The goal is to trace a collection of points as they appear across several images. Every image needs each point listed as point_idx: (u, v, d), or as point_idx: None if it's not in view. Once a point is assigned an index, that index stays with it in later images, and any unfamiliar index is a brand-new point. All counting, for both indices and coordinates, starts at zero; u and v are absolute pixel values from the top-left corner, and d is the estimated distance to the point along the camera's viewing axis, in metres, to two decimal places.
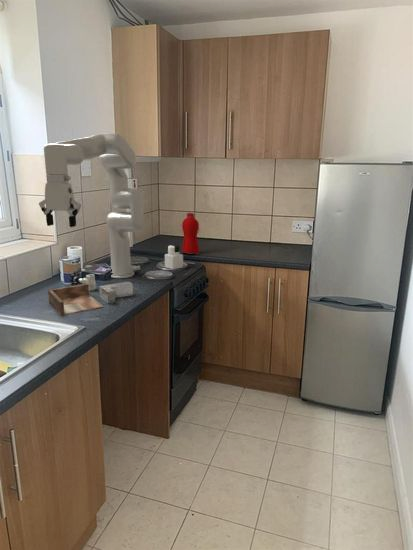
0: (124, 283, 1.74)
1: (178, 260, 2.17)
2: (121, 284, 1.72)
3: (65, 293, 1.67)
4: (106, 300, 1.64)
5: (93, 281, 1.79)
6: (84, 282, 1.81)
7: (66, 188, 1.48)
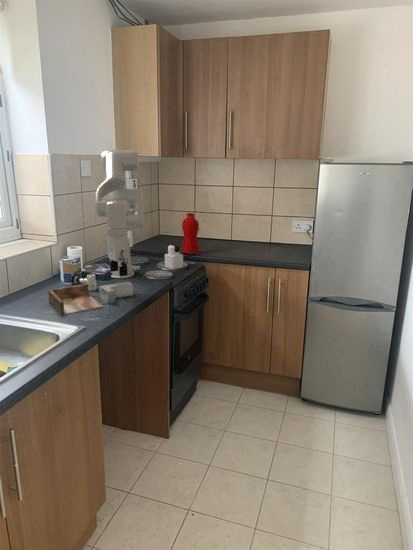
0: (124, 283, 1.74)
1: (178, 260, 2.17)
2: (121, 284, 1.72)
3: (65, 293, 1.67)
4: (106, 300, 1.64)
5: (94, 281, 1.79)
6: (85, 282, 1.81)
7: None
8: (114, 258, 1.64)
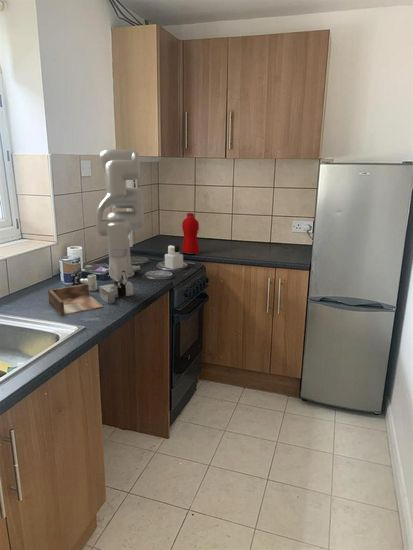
0: None
1: (178, 260, 2.17)
2: None
3: (65, 293, 1.67)
4: (106, 300, 1.64)
5: (95, 281, 1.79)
6: (85, 282, 1.80)
7: None
8: (115, 278, 1.67)
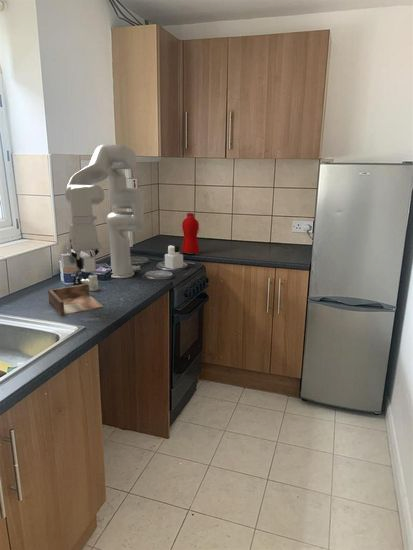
0: (89, 257, 1.55)
1: (178, 260, 2.17)
2: (86, 256, 1.56)
3: (65, 293, 1.67)
4: None
5: (96, 282, 1.79)
6: (86, 283, 1.80)
7: None
8: None
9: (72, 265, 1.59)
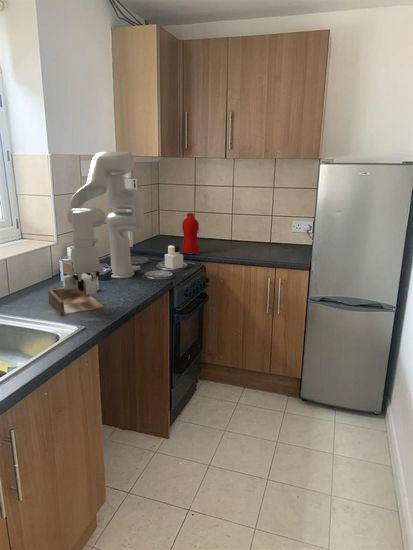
0: (90, 279, 1.57)
1: (178, 260, 2.17)
2: (87, 278, 1.58)
3: (65, 293, 1.67)
4: None
5: (96, 282, 1.78)
6: None
7: None
8: None
9: (73, 286, 1.61)
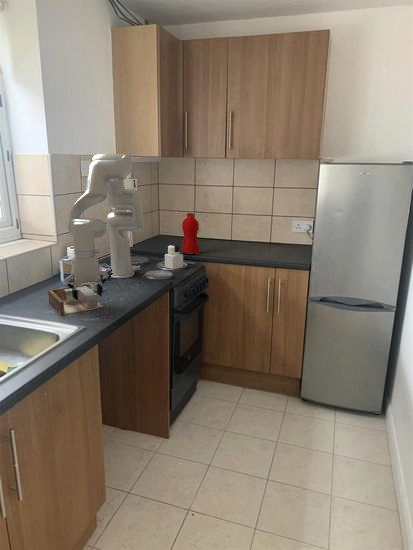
0: (91, 293, 1.58)
1: (178, 260, 2.17)
2: (88, 292, 1.59)
3: None
4: None
5: None
6: (88, 283, 1.80)
7: None
8: None
9: (75, 300, 1.63)
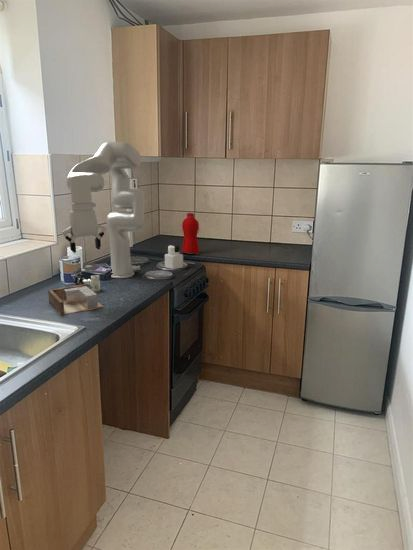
0: (91, 293, 1.58)
1: (178, 260, 2.17)
2: (88, 292, 1.59)
3: None
4: None
5: (98, 282, 1.78)
6: (89, 283, 1.79)
7: None
8: None
9: (75, 300, 1.63)
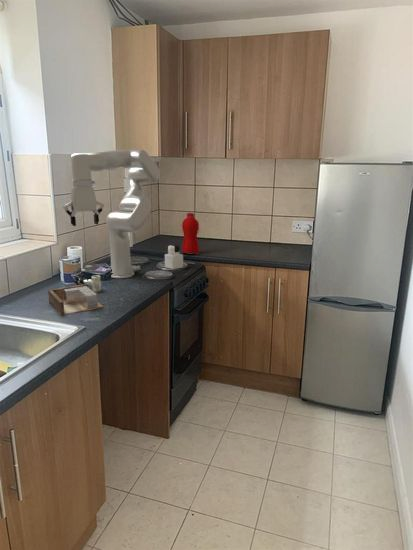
0: (91, 293, 1.58)
1: (178, 260, 2.17)
2: (88, 292, 1.59)
3: None
4: None
5: (99, 282, 1.78)
6: (89, 283, 1.79)
7: None
8: None
9: (75, 300, 1.63)
